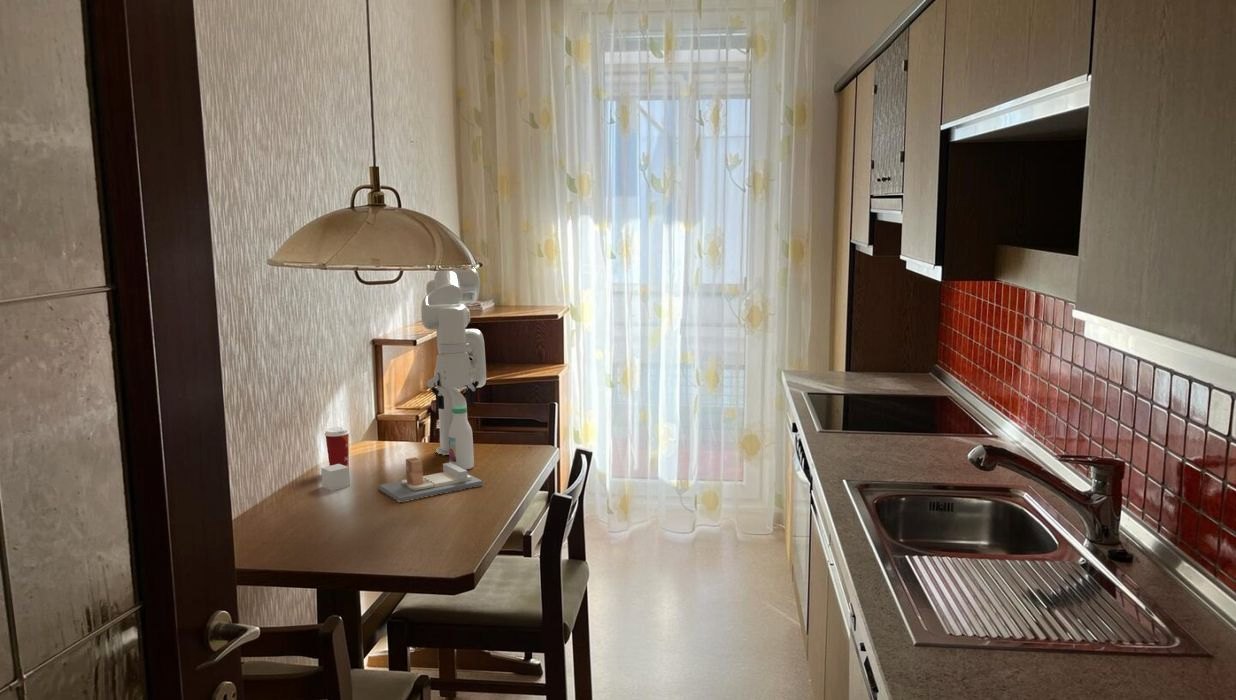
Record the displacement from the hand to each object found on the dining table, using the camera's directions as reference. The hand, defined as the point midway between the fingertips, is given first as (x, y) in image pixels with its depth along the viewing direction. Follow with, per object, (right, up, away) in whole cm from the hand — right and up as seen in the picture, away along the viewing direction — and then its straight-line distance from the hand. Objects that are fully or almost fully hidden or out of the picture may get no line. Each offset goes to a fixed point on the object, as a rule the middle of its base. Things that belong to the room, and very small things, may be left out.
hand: (455, 406), depth 260 cm
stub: (-12, -23, +1) cm, 26 cm away
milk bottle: (-2, -22, +25) cm, 33 cm away
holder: (-8, -25, +4) cm, 26 cm away
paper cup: (-42, -23, +22) cm, 52 cm away
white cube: (-38, -25, +7) cm, 46 cm away
